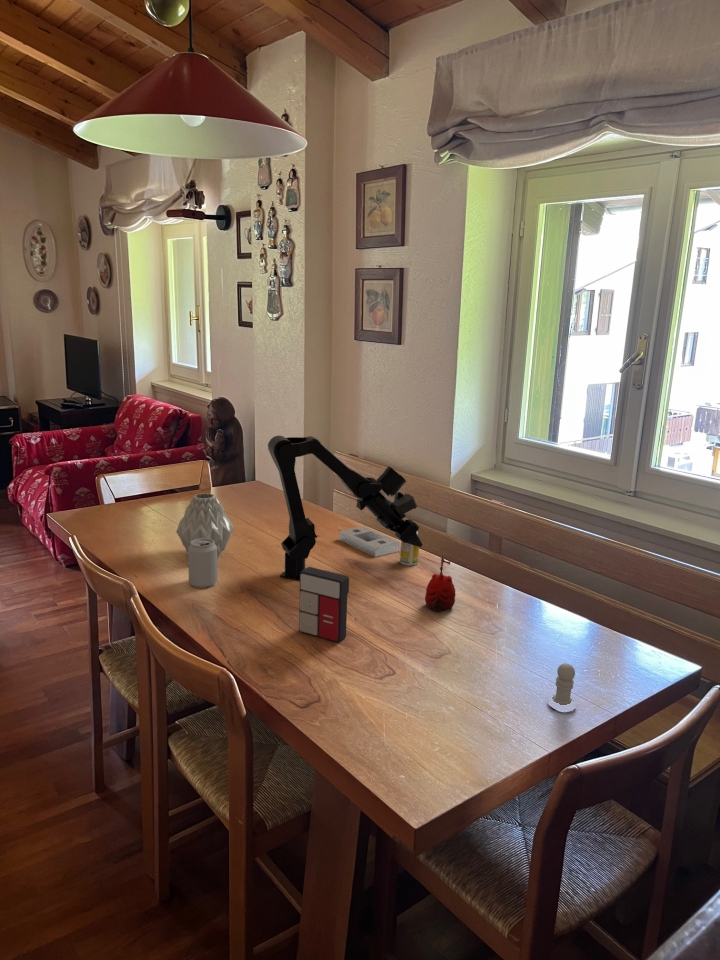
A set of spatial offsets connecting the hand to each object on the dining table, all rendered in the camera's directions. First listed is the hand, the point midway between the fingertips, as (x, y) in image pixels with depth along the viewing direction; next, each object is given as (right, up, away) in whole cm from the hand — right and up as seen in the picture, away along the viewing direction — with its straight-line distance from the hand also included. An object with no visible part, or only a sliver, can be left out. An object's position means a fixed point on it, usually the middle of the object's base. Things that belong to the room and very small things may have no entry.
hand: (414, 540), depth 208 cm
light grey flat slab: (-13, -3, +14) cm, 20 cm away
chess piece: (+23, -27, -70) cm, 78 cm away
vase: (-62, -5, +1) cm, 62 cm away
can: (-58, -10, -19) cm, 62 cm away
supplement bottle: (-1, -7, +1) cm, 7 cm away
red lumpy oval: (+4, -15, -28) cm, 32 cm away
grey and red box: (-25, -18, -44) cm, 54 cm away
